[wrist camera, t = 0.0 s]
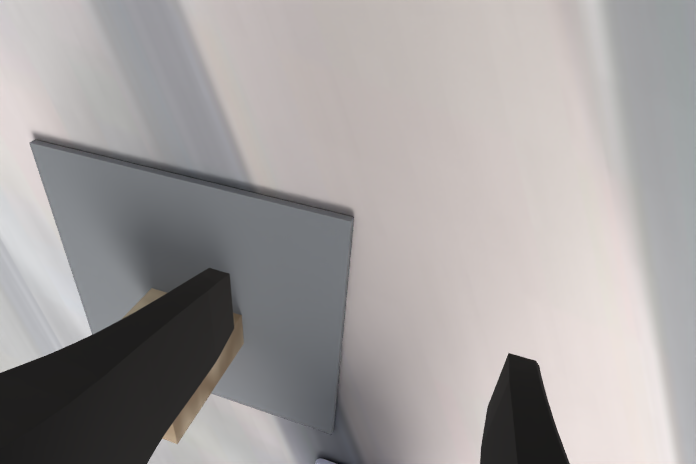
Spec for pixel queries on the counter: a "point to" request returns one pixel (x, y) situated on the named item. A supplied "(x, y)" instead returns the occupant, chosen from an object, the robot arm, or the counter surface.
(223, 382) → the mat
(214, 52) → the counter surface
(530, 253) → the counter surface
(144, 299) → the brown wooden block
